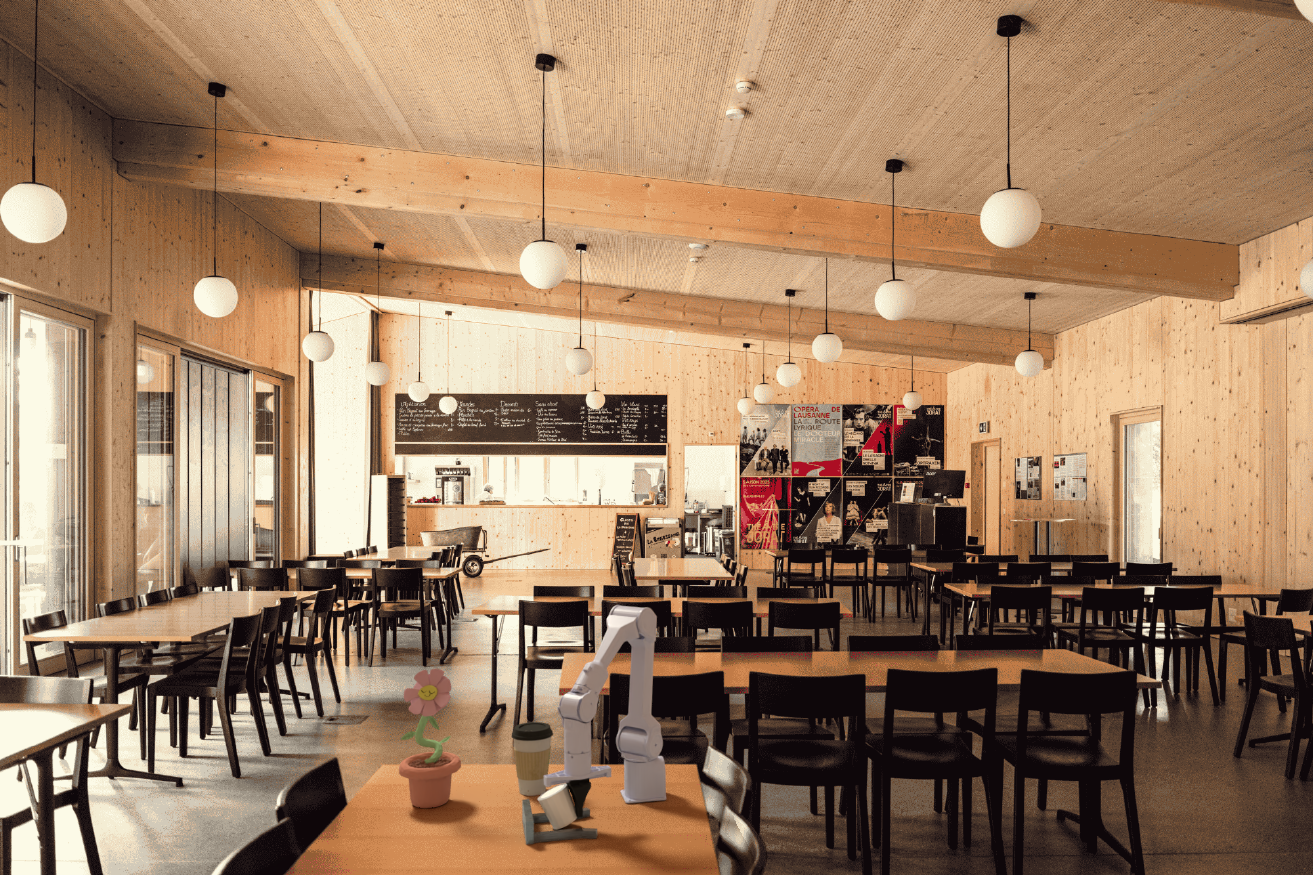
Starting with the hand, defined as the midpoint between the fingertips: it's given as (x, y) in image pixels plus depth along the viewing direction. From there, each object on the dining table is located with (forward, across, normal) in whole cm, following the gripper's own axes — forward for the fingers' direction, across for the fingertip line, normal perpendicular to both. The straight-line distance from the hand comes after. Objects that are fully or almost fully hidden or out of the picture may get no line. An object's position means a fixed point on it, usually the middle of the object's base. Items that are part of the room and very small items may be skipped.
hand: (578, 815), depth 186 cm
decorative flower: (+2, +26, -29) cm, 39 cm away
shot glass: (+2, +2, -1) cm, 3 cm away
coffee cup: (+2, +2, -26) cm, 26 cm away
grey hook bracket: (+2, +5, -1) cm, 5 cm away
